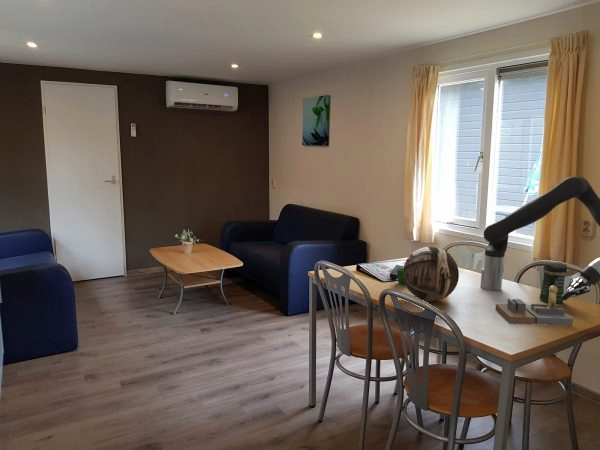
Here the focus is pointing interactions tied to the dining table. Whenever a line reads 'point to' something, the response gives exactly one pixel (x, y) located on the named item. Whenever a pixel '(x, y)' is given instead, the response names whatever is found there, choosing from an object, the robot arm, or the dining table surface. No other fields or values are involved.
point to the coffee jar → (553, 280)
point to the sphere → (430, 274)
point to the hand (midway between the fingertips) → (562, 298)
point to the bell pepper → (400, 276)
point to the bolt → (550, 298)
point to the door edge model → (532, 313)
